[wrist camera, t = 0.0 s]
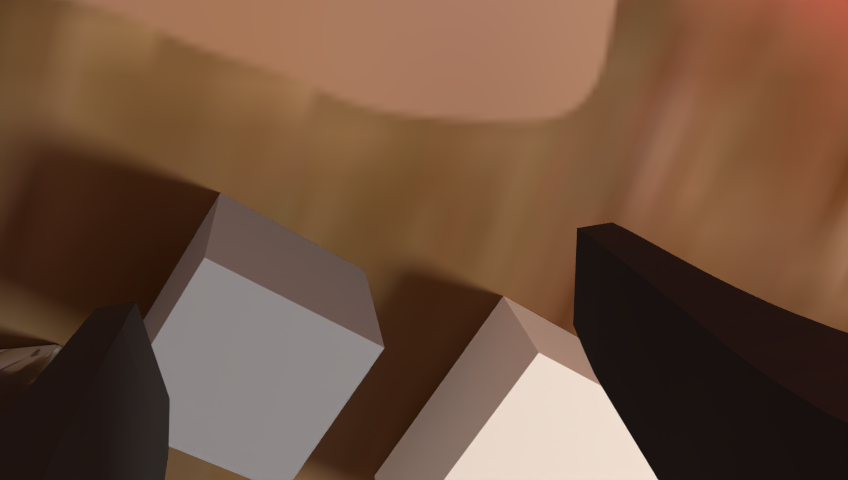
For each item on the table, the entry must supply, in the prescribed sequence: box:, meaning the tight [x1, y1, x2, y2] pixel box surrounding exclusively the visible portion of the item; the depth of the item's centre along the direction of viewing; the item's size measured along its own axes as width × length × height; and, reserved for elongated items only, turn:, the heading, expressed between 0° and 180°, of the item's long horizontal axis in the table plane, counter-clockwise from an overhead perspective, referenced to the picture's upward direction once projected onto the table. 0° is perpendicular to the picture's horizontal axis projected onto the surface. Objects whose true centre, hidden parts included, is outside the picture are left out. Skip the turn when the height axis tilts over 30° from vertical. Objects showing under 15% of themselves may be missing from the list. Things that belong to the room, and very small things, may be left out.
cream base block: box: [374, 296, 658, 480], centre depth 26 cm, size 8×8×4 cm
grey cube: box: [143, 193, 384, 480], centre depth 21 cm, size 5×5×5 cm
